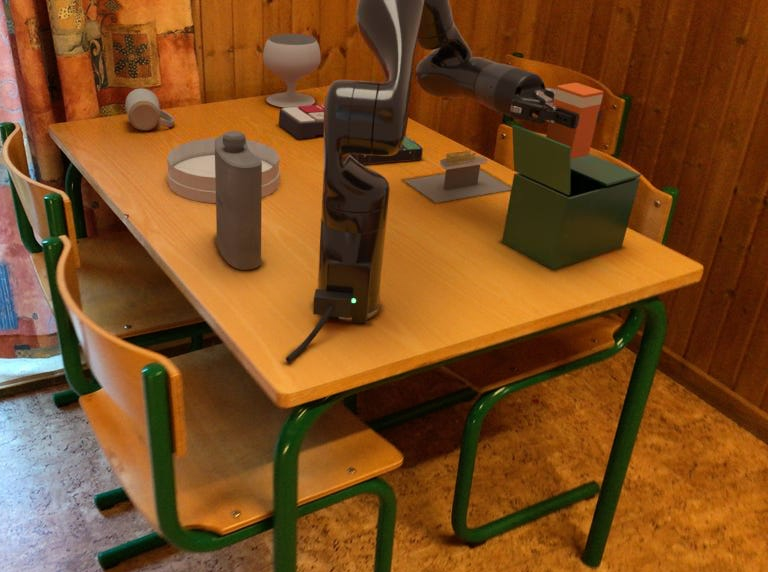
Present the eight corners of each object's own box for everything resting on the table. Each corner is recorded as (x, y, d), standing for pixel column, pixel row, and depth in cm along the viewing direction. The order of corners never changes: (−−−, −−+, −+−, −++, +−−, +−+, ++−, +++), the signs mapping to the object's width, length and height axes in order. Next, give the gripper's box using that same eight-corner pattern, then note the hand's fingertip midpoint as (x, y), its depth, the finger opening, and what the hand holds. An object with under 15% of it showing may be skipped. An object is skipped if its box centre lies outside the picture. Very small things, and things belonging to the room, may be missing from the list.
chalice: (329, 105, 209) (332, 42, 200) (281, 113, 202) (282, 49, 194) (299, 90, 218) (301, 30, 210) (252, 98, 212) (252, 36, 204)
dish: (256, 211, 155) (256, 185, 152) (147, 193, 160) (145, 168, 158) (294, 169, 172) (295, 145, 170) (195, 154, 178) (194, 131, 175)
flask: (210, 233, 147) (207, 119, 135) (243, 230, 148) (242, 117, 137) (228, 272, 135) (226, 151, 123) (264, 269, 136) (265, 149, 125)
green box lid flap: (570, 194, 131) (568, 195, 131) (515, 169, 139) (513, 170, 139) (570, 146, 125) (568, 148, 125) (513, 124, 134) (511, 125, 133)
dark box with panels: (359, 116, 191) (299, 120, 185) (357, 134, 193) (298, 139, 187) (337, 102, 199) (279, 105, 193) (335, 120, 201) (277, 124, 195)
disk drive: (357, 167, 175) (422, 160, 178) (357, 154, 173) (424, 147, 177) (340, 149, 183) (403, 143, 187) (340, 137, 181) (404, 131, 185)
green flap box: (553, 270, 138) (570, 194, 131) (501, 242, 146) (514, 169, 139) (621, 247, 146) (641, 174, 138) (569, 222, 154) (585, 152, 147)
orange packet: (569, 159, 132) (583, 95, 126) (543, 148, 135) (556, 85, 130) (589, 154, 134) (604, 91, 128) (562, 144, 137) (576, 82, 132)
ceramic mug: (129, 133, 188) (126, 98, 184) (126, 121, 195) (124, 88, 190) (176, 131, 190) (175, 97, 186) (172, 120, 197) (171, 87, 193)
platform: (403, 180, 169) (406, 148, 165) (478, 168, 175) (482, 137, 172) (436, 202, 160) (440, 169, 156) (513, 189, 166) (519, 157, 163)
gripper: (480, 72, 136) (561, 101, 124) (543, 62, 142) (625, 88, 130) (473, 118, 140) (550, 150, 128) (534, 106, 146) (613, 136, 135)
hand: (587, 119), depth 129 cm, fingers closed on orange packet, 4 cm apart
